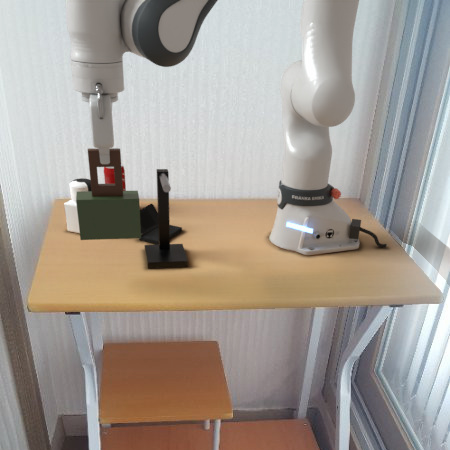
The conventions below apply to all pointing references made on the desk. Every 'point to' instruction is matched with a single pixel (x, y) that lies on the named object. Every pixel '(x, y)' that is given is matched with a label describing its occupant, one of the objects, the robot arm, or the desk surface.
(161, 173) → the peg stand
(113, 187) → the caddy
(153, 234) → the handheld gaming console
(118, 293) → the desk surface
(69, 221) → the medicine bottle
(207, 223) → the desk surface
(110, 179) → the soda can
